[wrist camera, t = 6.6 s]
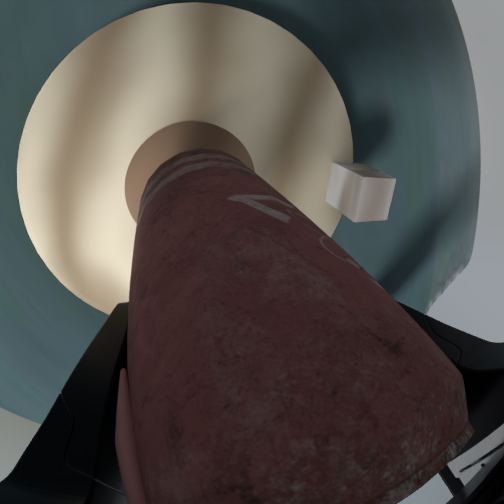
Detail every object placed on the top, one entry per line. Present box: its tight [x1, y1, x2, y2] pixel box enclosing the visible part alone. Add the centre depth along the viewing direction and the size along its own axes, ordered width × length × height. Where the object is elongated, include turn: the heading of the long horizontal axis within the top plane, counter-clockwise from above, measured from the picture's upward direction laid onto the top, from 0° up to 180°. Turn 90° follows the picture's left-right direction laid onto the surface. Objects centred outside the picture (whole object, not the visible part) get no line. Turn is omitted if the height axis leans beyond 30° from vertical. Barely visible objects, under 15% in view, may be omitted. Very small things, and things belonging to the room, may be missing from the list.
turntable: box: [17, 2, 396, 315], centre depth 15 cm, size 24×23×5 cm
